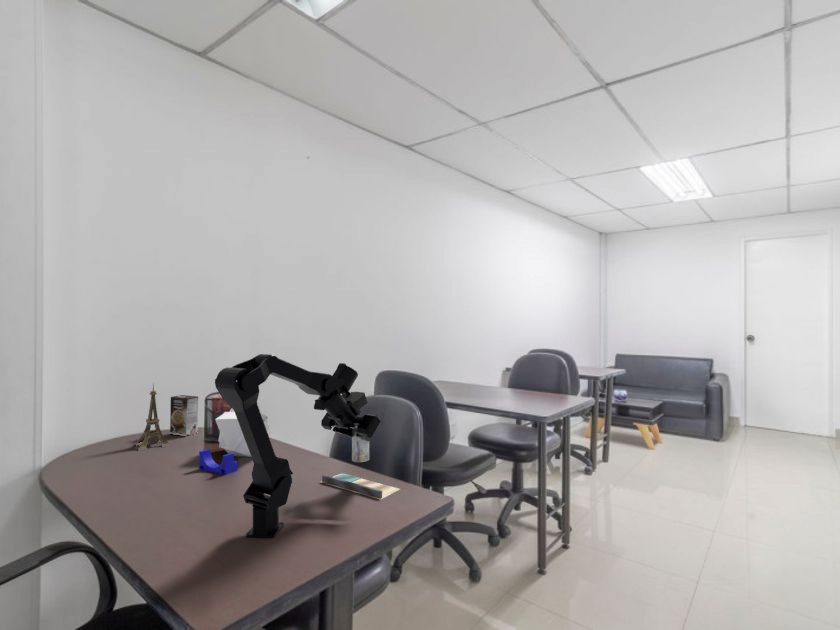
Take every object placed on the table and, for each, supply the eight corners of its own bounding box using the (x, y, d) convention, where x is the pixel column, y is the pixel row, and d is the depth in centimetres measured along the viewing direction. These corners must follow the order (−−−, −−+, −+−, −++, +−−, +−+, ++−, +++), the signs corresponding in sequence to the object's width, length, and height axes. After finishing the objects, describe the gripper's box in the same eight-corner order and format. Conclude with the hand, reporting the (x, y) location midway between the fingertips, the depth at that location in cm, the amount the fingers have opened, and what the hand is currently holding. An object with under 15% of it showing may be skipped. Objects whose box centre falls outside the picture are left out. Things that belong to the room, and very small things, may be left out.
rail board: (400, 491, 125) (400, 482, 125) (380, 502, 117) (380, 492, 117) (341, 475, 138) (341, 467, 138) (319, 484, 130) (319, 475, 130)
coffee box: (169, 435, 186) (169, 396, 187) (181, 431, 193) (182, 394, 193) (186, 437, 184) (186, 398, 184) (198, 433, 190) (198, 395, 190)
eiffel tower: (138, 451, 164) (139, 383, 164) (134, 445, 172) (135, 380, 172) (170, 446, 171) (171, 380, 171) (164, 440, 179) (165, 378, 179)
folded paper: (245, 400, 174) (203, 410, 160) (286, 406, 161) (244, 419, 147) (248, 442, 175) (206, 457, 161) (288, 452, 162) (247, 469, 148)
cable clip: (237, 471, 143) (237, 452, 143) (226, 475, 138) (226, 456, 139) (210, 466, 148) (210, 447, 148) (199, 470, 143) (199, 451, 144)
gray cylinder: (367, 462, 127) (367, 423, 127) (350, 461, 127) (350, 423, 127) (370, 457, 132) (371, 420, 132) (354, 456, 132) (354, 419, 132)
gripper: (376, 386, 121) (401, 420, 130) (328, 381, 132) (354, 412, 141) (356, 420, 115) (383, 453, 123) (307, 411, 125) (336, 442, 134)
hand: (363, 438), depth 131 cm, fingers closed on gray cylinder, 5 cm apart
